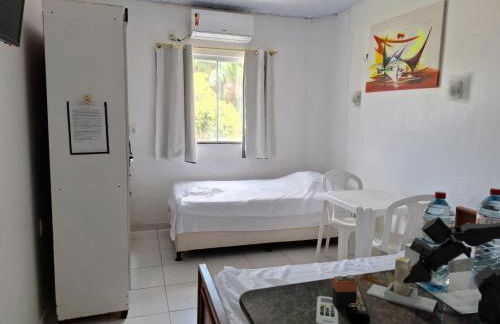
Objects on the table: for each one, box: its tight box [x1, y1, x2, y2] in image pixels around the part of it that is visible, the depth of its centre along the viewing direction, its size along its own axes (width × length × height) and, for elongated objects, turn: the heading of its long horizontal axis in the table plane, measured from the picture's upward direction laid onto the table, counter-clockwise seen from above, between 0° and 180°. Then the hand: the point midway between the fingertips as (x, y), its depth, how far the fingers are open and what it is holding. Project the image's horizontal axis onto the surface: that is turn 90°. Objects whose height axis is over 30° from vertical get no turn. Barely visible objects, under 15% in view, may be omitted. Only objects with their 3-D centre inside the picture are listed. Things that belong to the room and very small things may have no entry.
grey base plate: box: [366, 281, 437, 313], centre depth 122 cm, size 21×9×3 cm, turn 54°
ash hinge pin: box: [393, 256, 411, 296], centre depth 122 cm, size 4×4×14 cm
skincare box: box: [403, 243, 420, 270], centre depth 143 cm, size 6×4×12 cm
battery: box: [331, 274, 358, 309], centre depth 116 cm, size 4×7×10 cm, turn 95°
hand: (406, 277), depth 121 cm, fingers open, 9 cm apart
